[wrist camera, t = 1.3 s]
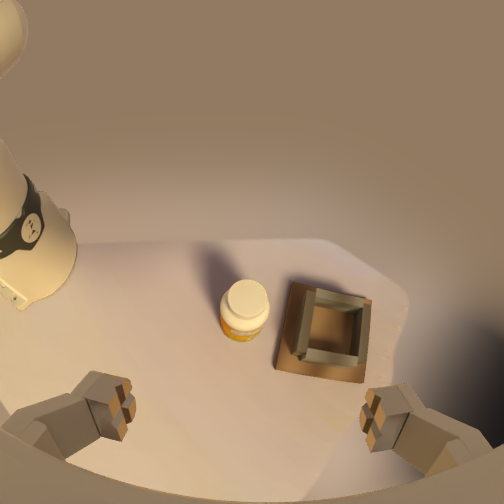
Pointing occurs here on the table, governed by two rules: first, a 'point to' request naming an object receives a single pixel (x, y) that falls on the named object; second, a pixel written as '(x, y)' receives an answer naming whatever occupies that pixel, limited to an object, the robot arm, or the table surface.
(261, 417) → the table surface
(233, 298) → the supplement bottle
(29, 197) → the robot arm
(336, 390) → the table surface
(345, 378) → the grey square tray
